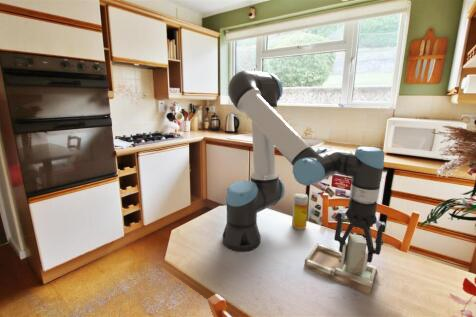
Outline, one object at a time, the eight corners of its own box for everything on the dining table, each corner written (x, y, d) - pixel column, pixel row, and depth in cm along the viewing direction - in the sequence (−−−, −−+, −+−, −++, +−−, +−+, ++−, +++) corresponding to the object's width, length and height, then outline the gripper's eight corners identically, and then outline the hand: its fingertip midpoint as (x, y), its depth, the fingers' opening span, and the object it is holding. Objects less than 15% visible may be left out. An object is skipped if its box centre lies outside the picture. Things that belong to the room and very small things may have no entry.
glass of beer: (307, 230, 106) (310, 197, 102) (293, 230, 106) (295, 197, 102) (304, 223, 112) (306, 192, 108) (290, 222, 112) (292, 192, 108)
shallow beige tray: (303, 267, 84) (304, 260, 83) (317, 248, 94) (317, 242, 93) (369, 295, 72) (370, 287, 71) (376, 270, 82) (377, 263, 82)
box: (362, 275, 77) (367, 244, 74) (347, 273, 78) (352, 242, 75) (357, 264, 82) (362, 235, 79) (344, 262, 83) (348, 233, 80)
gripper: (327, 195, 76) (320, 259, 82) (399, 212, 66) (385, 285, 72) (334, 188, 82) (327, 248, 88) (401, 202, 71) (388, 270, 77)
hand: (353, 265), depth 80 cm, fingers closed on box, 6 cm apart
